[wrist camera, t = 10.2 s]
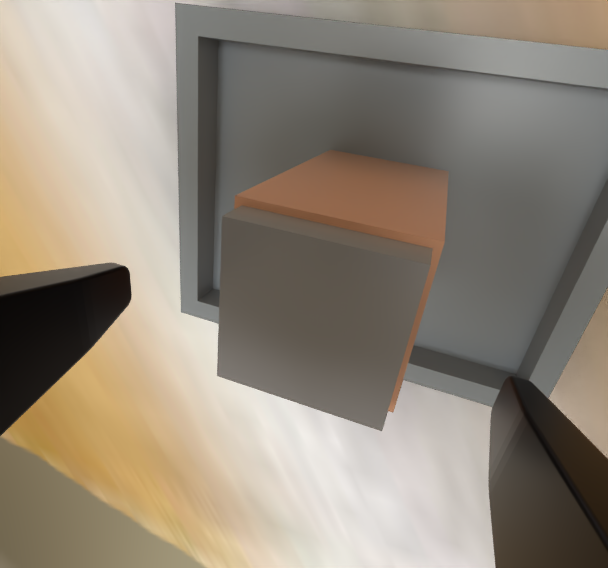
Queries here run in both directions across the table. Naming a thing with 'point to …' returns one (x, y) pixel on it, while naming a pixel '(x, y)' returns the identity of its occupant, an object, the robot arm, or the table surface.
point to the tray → (422, 152)
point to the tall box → (330, 281)
